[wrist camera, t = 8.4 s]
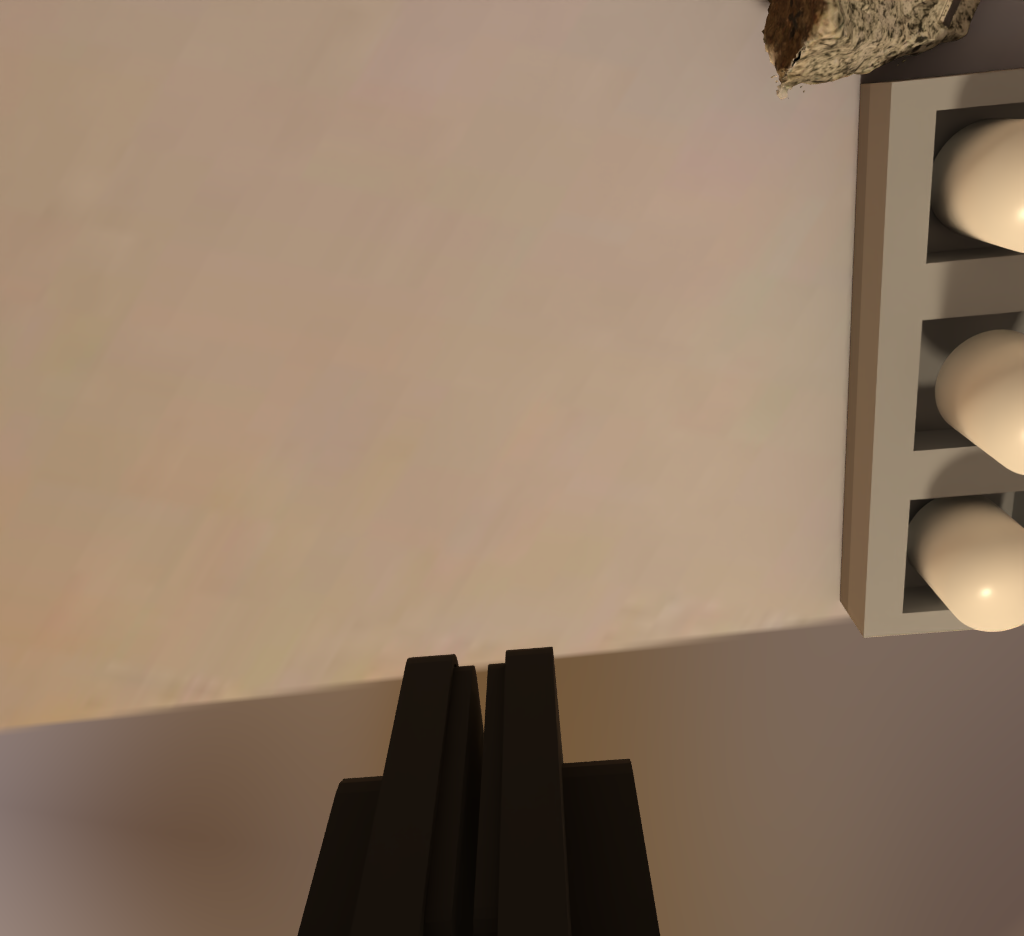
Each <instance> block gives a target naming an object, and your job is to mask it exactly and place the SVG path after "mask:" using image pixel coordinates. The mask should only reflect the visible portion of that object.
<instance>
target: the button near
mask: <svg viewBox="0 0 1024 936" xmlns="http://www.w3.org/2000/svg"><path fill="white" fill-rule="evenodd" d="M930 204H931V207H932V209H933V212H934V214H935V215H936V217H937V218H938V220H939V221H940V222H941V223H942V224H943V225H944V226H945V227H947V228H948V229H950V230H951V231H953V232H955V233H958V234H960V235H964V236H967V237H970V238H973V239H977V240H980V241H983V242H987V243H990V244H993V245H997V246H1000V247H1003V248H1007V249H1010V250H1013V251H1017V252H1021V253H1024V119H1008V118H991V119H985V120H981V121H977V122H975V123H972V124H970V125H968V126H966V127H965V128H963V129H961V130H960V131H958V132H957V133H956V134H954V135H953V136H952V137H951V138H950V139H949V140H948V141H947V142H946V144H945V145H944V146H943V147H942V149H941V150H940V152H939V153H938V155H937V157H936V159H935V161H934V163H933V169H932V184H931V198H930Z"/></svg>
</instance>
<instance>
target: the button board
mask: <svg viewBox="0 0 1024 936" xmlns="http://www.w3.org/2000/svg"><path fill="white" fill-rule="evenodd" d="M991 118H1008V119H1024V68H1016V69H1006V70H996V71H986V72H976V73H966V74H956V75H946V76H937V77H927V78H917V79H907V80H897V81H887V82H877V83H867V84H861V87H860V112H859V138H858V163H857V188H856V213H855V239H854V264H853V289H852V315H851V340H850V365H849V390H848V416H847V441H846V466H845V491H844V517H843V542H842V567H841V592H840V602H841V603H842V605H843V606H844V608H845V609H846V611H847V612H848V614H849V616H850V617H851V619H852V620H853V622H854V623H855V625H856V626H857V628H858V630H859V631H860V633H861V634H862V636H863V637H864V638H867V637H880V636H893V635H907V634H920V633H933V632H947V631H960V630H973V628H971V627H969V626H967V625H965V624H963V623H962V622H961V621H959V620H958V619H957V618H956V617H955V616H954V614H953V613H952V612H951V611H950V610H949V608H948V607H947V606H946V605H945V604H944V603H943V601H942V600H941V599H940V598H939V597H938V595H937V594H936V593H935V592H934V591H933V590H932V588H931V587H930V586H929V585H928V584H927V582H926V581H925V580H924V579H923V578H922V576H921V575H920V574H919V573H918V572H917V571H916V569H915V568H914V567H913V566H912V564H911V563H910V561H909V559H908V557H907V554H906V553H907V538H908V527H909V524H910V522H911V521H912V519H913V517H914V516H915V515H916V514H917V512H918V511H919V510H920V509H921V508H922V507H924V506H925V505H926V504H927V503H929V502H930V501H932V500H934V499H936V498H941V497H954V496H966V495H979V494H980V495H982V496H985V497H986V498H988V499H990V500H991V501H992V502H994V503H995V504H996V505H997V506H998V507H999V508H1001V509H1002V510H1003V511H1004V512H1005V513H1007V514H1008V515H1009V516H1010V517H1011V518H1012V519H1014V520H1015V521H1016V522H1017V523H1018V524H1020V525H1021V526H1022V527H1023V528H1024V475H1021V474H1018V473H1015V472H1013V471H1011V470H1009V469H1007V468H1006V467H1004V466H1003V465H1002V464H1000V463H999V462H998V461H996V460H995V459H994V458H992V457H991V456H990V455H988V454H987V453H986V452H984V451H983V450H982V449H980V448H979V447H978V446H977V445H975V444H974V443H973V442H971V441H970V440H969V439H967V438H966V437H965V436H963V435H962V434H961V433H959V432H958V431H957V430H955V429H954V428H953V427H951V426H950V425H949V424H948V423H947V422H946V421H945V420H944V419H943V417H942V416H941V414H940V412H939V410H938V408H937V404H936V400H935V385H936V380H937V376H938V373H939V371H940V369H941V367H942V365H943V363H944V361H945V360H946V359H947V357H948V356H949V355H950V354H951V353H952V351H953V350H954V349H955V348H957V347H958V346H959V345H960V344H961V343H963V342H964V341H966V340H967V339H969V338H971V337H973V336H975V335H977V334H980V333H983V332H986V331H991V330H1001V329H1004V330H1012V331H1016V332H1019V333H1022V334H1024V253H1021V252H1017V251H1013V250H1010V249H1007V248H1003V247H1000V246H997V245H993V244H990V243H987V242H983V241H980V240H977V239H973V238H970V237H967V236H964V235H960V234H958V233H955V232H953V231H951V230H950V229H948V228H947V227H945V226H944V225H943V224H942V223H941V222H940V221H939V220H938V218H937V217H936V215H935V214H934V212H933V209H932V207H931V204H930V198H931V184H932V169H933V163H934V161H935V159H936V157H937V155H938V153H939V152H940V150H941V149H942V147H943V146H944V145H945V144H946V142H947V141H948V140H949V139H950V138H951V137H952V136H953V135H954V134H956V133H957V132H958V131H960V130H961V129H963V128H965V127H966V126H968V125H970V124H972V123H975V122H977V121H981V120H985V119H991ZM1020 626H1024V624H1022V625H1020Z"/></svg>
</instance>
